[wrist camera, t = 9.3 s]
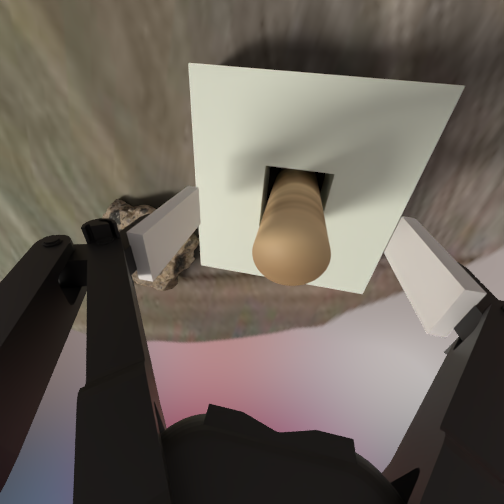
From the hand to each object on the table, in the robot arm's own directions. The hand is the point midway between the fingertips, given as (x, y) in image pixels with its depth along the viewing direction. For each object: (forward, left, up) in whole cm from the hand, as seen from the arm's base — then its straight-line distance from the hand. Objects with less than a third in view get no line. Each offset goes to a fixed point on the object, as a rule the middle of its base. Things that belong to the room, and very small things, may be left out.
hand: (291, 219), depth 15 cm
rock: (+9, -16, -8) cm, 20 cm away
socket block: (0, 0, -8) cm, 8 cm away
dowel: (0, 0, -8) cm, 8 cm away
